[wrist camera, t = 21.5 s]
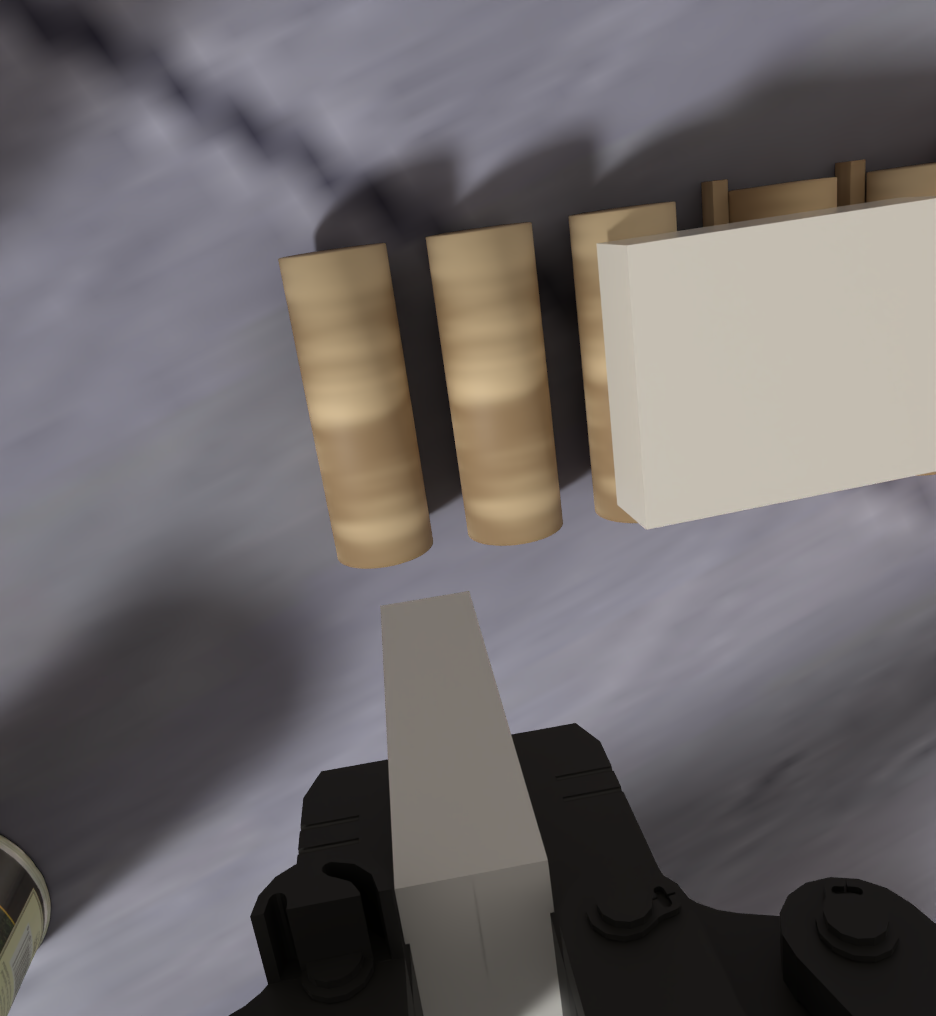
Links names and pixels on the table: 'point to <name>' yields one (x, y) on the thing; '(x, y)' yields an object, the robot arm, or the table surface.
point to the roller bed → (474, 372)
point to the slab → (770, 358)
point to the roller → (782, 199)
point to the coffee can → (19, 918)
